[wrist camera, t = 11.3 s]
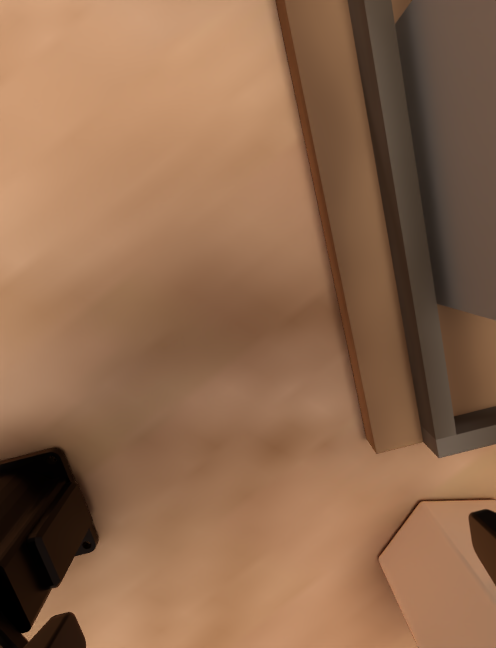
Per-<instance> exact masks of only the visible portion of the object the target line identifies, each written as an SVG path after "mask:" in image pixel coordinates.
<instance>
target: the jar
mask: <svg viewBox="0 0 496 648" xmlns="http://www.w3.org/2000/svg"><path fill="white" fill-rule="evenodd" d="M483 509H489V510H492V511H494V512H496V500H457V501H422V502H420V503H419V504H418V505H417V507H416V508H415V509H414V511H413V512H412V513H411V515H410V516H409V518H408V519H407V520H406V522H405V523H404V524H403V526H402V527H401V528H400V530H399V531H398V532H397V534H396V535H395V536H394V538H393V539H392V540H391V542H390V543H389V544H388V546H387V547H386V548H385V550H384V551H383V552H382V554H381V555H380V556H379V563H380V566H381V568H382V570H383V572H384V574H385V577H386V579H387V581H388V583H389V585H390V587H391V590H392V592H393V594H394V596H395V598H396V601H397V603H398V605H399V607H400V609H401V612H402V614H403V616H404V618H405V620H406V622H407V625H408V627H409V629H410V631H411V633H412V636H413V638H414V640H415V642H416V644H417V647H418V648H496V586H495V584H494V583H493V581H492V579H491V578H490V576H489V575H488V573H487V571H486V570H485V568H484V566H483V565H482V563H481V562H480V560H479V558H478V557H477V555H476V553H475V551H474V548H473V545H472V540H471V533H470V526H469V520H468V516H469V514H470V513H471V512H475V511H479V510H483Z"/></svg>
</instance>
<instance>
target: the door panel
mask: <svg viewBox="0 0 496 648" xmlns="http://www.w3.org/2000/svg"><path fill="white" fill-rule="evenodd" d="M395 28H396V35H397V41H398V48H399V55H400V61H401V68H402V75H403V81H404V88H405V95H406V101H407V108H408V115H409V121H410V128H411V135H412V141H413V148H414V155H415V161H416V168H417V175H418V181H419V188H420V195H421V201H422V208H423V215H424V221H425V228H426V235H427V241H428V248H429V255H430V261H431V268H432V275H433V281H434V288H435V295H436V301H437V304H440V305H443V306H447V307H450V308H454V309H457V310H461V311H464V312H468V313H471V314H475V315H478V316H482V317H485V318H489V319H492V320H496V0H412V1H411V3H410V4H409V6H408V7H407V8H406V10H405V11H404V12H403V14H402V15H401V17H400V18H399V19H398V21H397V22H396V23H395Z"/></svg>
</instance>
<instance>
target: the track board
mask: <svg viewBox="0 0 496 648" xmlns="http://www.w3.org/2000/svg"><path fill="white" fill-rule="evenodd" d="M411 1H412V0H276V5H277V10H278V14H279V19H280V24H281V29H282V34H283V39H284V43H285V48H286V53H287V58H288V63H289V67H290V72H291V77H292V82H293V87H294V92H295V96H296V101H297V106H298V111H299V116H300V120H301V125H302V130H303V135H304V140H305V145H306V149H307V154H308V159H309V164H310V169H311V173H312V178H313V183H314V188H315V193H316V197H317V202H318V207H319V212H320V217H321V222H322V226H323V231H324V236H325V241H326V246H327V250H328V255H329V260H330V265H331V270H332V275H333V279H334V284H335V289H336V294H337V299H338V303H339V308H340V313H341V318H342V323H343V328H344V332H345V337H346V342H347V347H348V352H349V356H350V361H351V366H352V371H353V376H354V381H355V385H356V390H357V395H358V400H359V405H360V409H361V414H362V419H363V424H364V429H365V433H366V438H367V440H368V442H369V443H370V445H371V446H372V448H373V449H374V451H375V452H376V454H378V453H382V452H386V451H390V450H394V449H398V448H402V447H406V446H410V445H414V444H418V443H422V442H424V443H425V444H426V445H427V446H428V447H429V448H430V449H431V450H432V451H433V453H434V454H435V455H436V456H437V457H438V458H442V457H446V456H450V455H454V454H458V453H462V452H466V451H470V450H474V449H477V448H481V447H485V446H489V445H493V444H496V320H492V319H489V318H485V317H482V316H478V315H475V314H471V313H468V312H464V311H461V310H457V309H454V308H450V307H447V306H443V305H440V304H437V301H436V295H435V288H434V281H433V275H432V268H431V261H430V255H429V248H428V241H427V235H426V228H425V221H424V215H423V208H422V201H421V195H420V188H419V181H418V175H417V168H416V161H415V155H414V148H413V141H412V135H411V128H410V121H409V115H408V108H407V101H406V95H405V88H404V81H403V75H402V68H401V61H400V55H399V48H398V41H397V35H396V28H395V23H396V22H397V21H398V19H399V18H400V17H401V15H402V14H403V12H404V11H405V10H406V8H407V7H408V6H409V4H410V3H411Z"/></svg>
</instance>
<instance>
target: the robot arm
mask: <svg viewBox="0 0 496 648" xmlns="http://www.w3.org/2000/svg"><path fill="white" fill-rule="evenodd" d="M51 456H53V457H55V458H56V460H52V459H51ZM468 520H469V526H470V533H471V540H472V545H473V548H474V551H475V553H476V555H477V557H478V558H479V560H480V562H481V563H482V565H483V566H484V568H485V570H486V571H487V573H488V575H489V576H490V578H491V579H492V581H493V583H494V584H495V586H496V512H494V511H492V510H489V509H483V510H479V511H475V512H471V513H470V514H469V516H468ZM86 541H88V542H90V543H87V542H86ZM97 543H98V537H97V534H96V532H95V529H94V527H93V524H92V517H91V515H90V512H89V510H88V507H87V505H86V502H85V500H84V498H83V495H82V493H81V490H80V488H79V485H78V484H77V483H76V482H75V480H74V477H73V475H72V472H71V470H70V467H69V465H68V462H67V460H66V457H65V455H64V453H63V452H62V451H61V450H60V449H58V448H51V449H47V450H43V451H39V452H35V453H31V454H27V455H23V456H20V457H16V458H12V459H8V460H4V461H0V648H86V641H85V637H84V635H83V633H82V630H81V628H80V626H79V624H78V621H77V619H76V617H75V615H74V614H73V613H72V612H67V613H63V614H59V615H55V616H53V617H52V618H51V619H50V620H49V621H48V622H47V623H46V624H45V625H44V626H43V627H42V628H41V629H40V630H39V631H38V632H37V634H36V635H35V636H34V637H33V638H32V639H31V640H30V641H28V640H27V639H26V638H25V637H24V636H23V635H22V634H21V633H25V632H28V631H30V629H31V627H32V625H33V623H34V622H35V620H36V618H37V616H38V614H39V612H40V610H41V608H42V607H43V605H44V603H45V601H46V599H47V597H48V595H49V593H50V591H51V590H52V588H56V587H58V586H59V585H60V583H61V581H62V580H63V578H64V576H65V574H66V572H67V570H68V568H69V566H70V564H71V562H72V560H73V558H74V556H78V555H82V554H86V553H90V552H92V551H93V550H94V549H95V548H96V546H97Z"/></svg>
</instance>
